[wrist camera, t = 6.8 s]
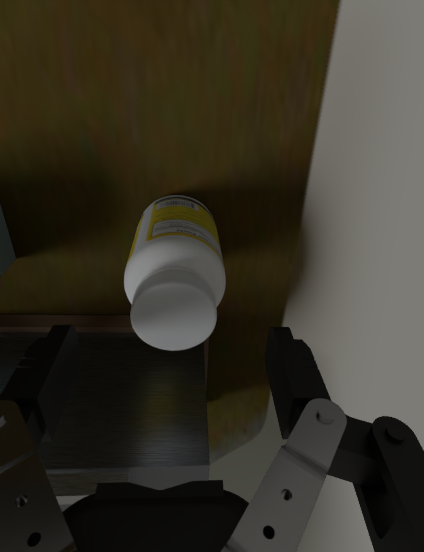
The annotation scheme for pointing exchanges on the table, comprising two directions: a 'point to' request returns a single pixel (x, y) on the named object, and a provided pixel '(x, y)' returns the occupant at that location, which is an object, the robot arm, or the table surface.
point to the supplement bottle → (175, 274)
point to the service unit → (119, 407)
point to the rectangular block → (5, 246)
